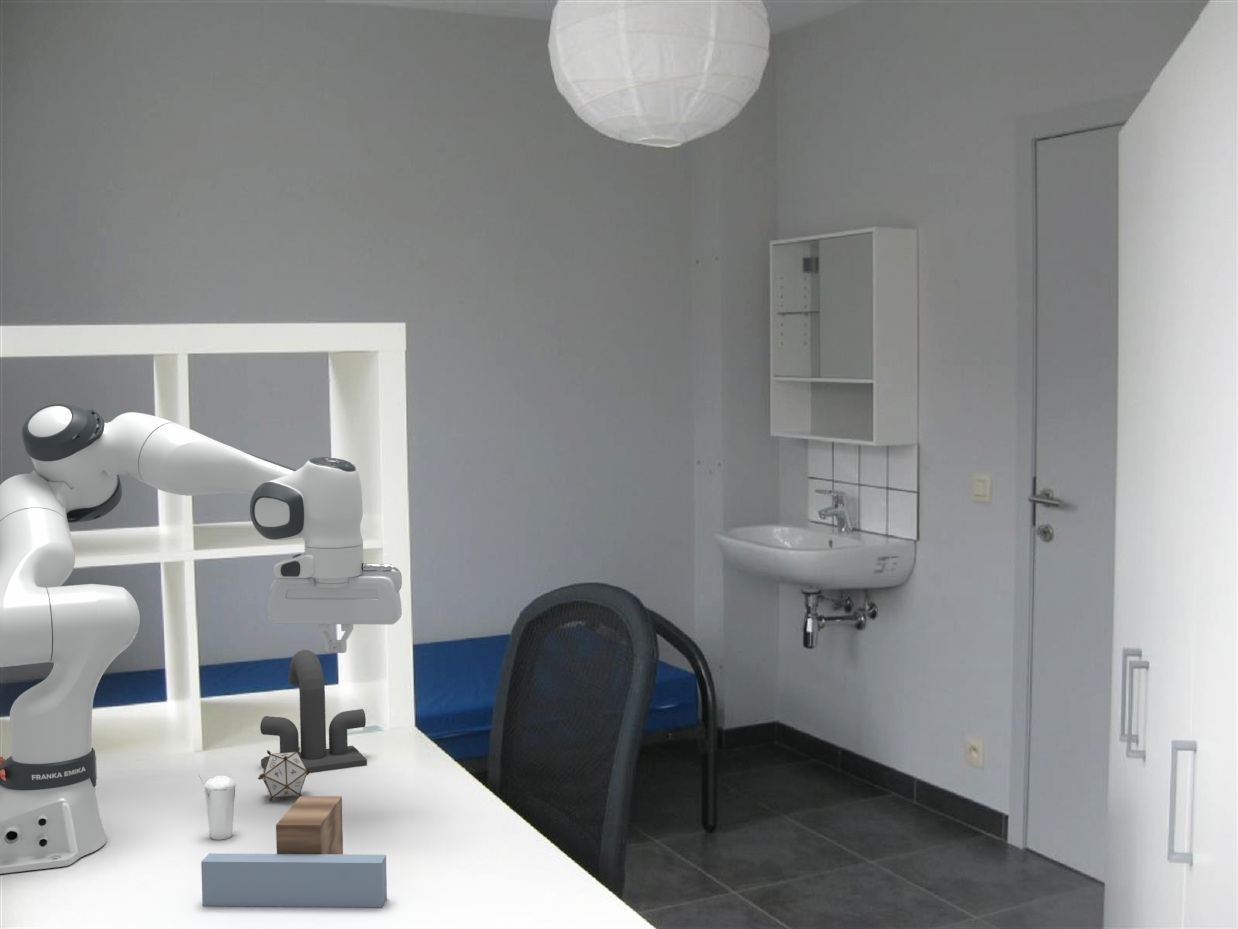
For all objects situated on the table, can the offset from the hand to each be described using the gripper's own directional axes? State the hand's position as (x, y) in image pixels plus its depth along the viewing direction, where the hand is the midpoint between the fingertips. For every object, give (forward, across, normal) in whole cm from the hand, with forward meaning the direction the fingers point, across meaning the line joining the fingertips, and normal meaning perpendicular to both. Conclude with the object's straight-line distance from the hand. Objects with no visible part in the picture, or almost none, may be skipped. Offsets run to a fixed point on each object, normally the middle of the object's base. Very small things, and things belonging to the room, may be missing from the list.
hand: (336, 652), depth 208 cm
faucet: (+28, +14, -34) cm, 46 cm away
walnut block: (+27, -2, +23) cm, 36 cm away
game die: (+27, +12, -12) cm, 32 cm away
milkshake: (+27, +17, +6) cm, 33 cm away
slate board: (+27, -2, +30) cm, 41 cm away
